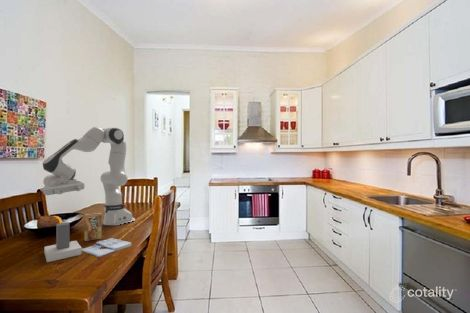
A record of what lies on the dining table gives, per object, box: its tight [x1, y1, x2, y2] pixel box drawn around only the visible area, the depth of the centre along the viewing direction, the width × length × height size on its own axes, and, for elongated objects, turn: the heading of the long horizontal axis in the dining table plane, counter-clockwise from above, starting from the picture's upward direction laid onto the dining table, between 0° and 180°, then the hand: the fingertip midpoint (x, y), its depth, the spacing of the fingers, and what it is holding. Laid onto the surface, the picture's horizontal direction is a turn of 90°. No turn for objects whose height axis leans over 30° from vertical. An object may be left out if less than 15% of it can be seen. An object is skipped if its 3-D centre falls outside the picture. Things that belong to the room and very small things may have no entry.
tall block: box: [55, 221, 71, 250], centre depth 125 cm, size 5×5×12 cm
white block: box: [43, 240, 82, 263], centre depth 125 cm, size 14×14×4 cm
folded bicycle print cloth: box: [81, 237, 133, 258], centre depth 134 cm, size 19×20×2 cm
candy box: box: [84, 212, 103, 242], centre depth 147 cm, size 9×4×15 cm, turn 119°
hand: (70, 191), depth 138 cm, fingers open, 8 cm apart
